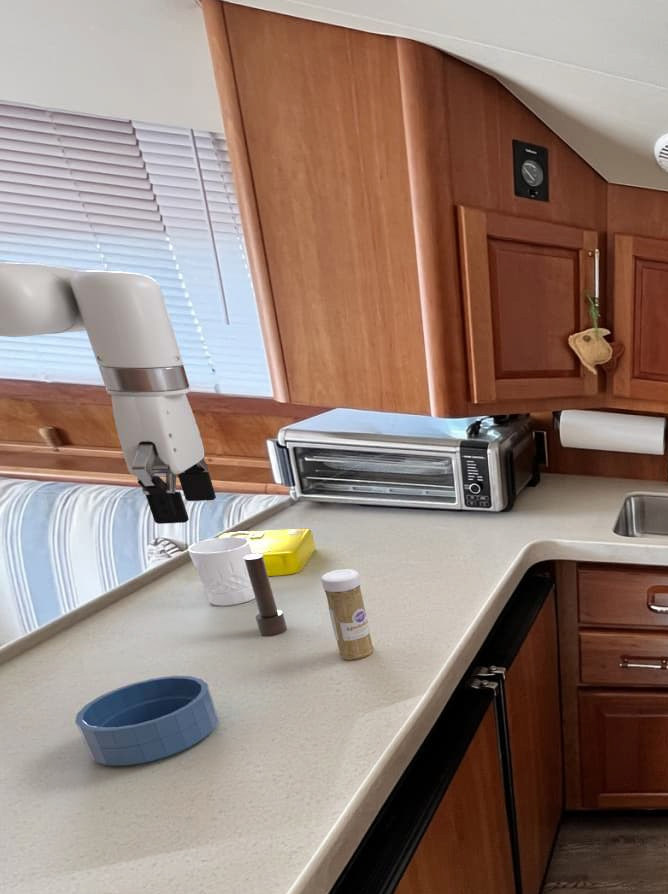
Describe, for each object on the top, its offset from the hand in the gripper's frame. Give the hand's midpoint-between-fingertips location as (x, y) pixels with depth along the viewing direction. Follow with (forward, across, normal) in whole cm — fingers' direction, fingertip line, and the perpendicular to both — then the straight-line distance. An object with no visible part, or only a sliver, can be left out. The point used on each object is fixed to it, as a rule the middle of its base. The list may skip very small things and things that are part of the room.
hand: (187, 510), depth 85 cm
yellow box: (+23, -39, -6) cm, 46 cm away
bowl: (+23, +19, -2) cm, 30 cm away
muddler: (+23, -8, +3) cm, 25 cm away
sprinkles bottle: (+23, +3, +16) cm, 28 cm away
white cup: (+23, -23, -6) cm, 33 cm away
